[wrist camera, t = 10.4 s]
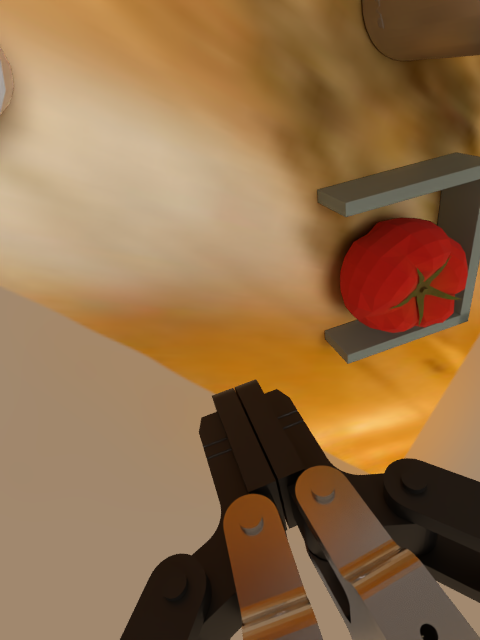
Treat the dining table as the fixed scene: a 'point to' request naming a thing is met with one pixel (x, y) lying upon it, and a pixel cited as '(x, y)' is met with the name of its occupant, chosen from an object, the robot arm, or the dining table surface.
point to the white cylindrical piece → (5, 82)
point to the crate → (454, 218)
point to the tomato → (403, 275)
